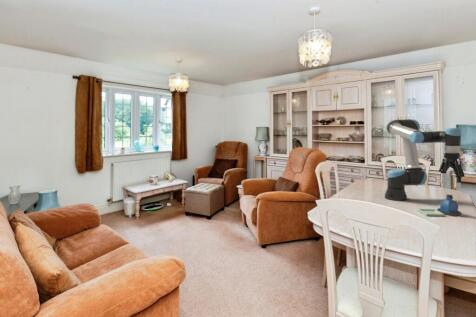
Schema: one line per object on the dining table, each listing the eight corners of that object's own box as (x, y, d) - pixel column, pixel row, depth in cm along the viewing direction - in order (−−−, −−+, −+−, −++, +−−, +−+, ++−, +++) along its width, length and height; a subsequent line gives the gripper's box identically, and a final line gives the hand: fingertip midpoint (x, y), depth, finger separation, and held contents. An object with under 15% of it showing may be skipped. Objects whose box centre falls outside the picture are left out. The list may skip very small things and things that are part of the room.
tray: (417, 210, 166) (417, 208, 165) (434, 211, 164) (434, 209, 164) (426, 216, 156) (426, 213, 155) (444, 216, 154) (444, 214, 154)
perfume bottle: (448, 211, 163) (449, 193, 161) (457, 214, 157) (458, 196, 155) (439, 211, 162) (440, 194, 161) (448, 214, 156) (449, 196, 155)
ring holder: (433, 210, 166) (433, 208, 166) (452, 210, 164) (452, 208, 164) (444, 215, 155) (444, 213, 155) (465, 216, 153) (465, 214, 153)
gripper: (433, 151, 168) (431, 181, 170) (459, 154, 144) (457, 189, 146) (445, 150, 167) (444, 181, 169) (473, 154, 142) (471, 189, 145)
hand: (450, 185), depth 158 cm, fingers open, 13 cm apart
